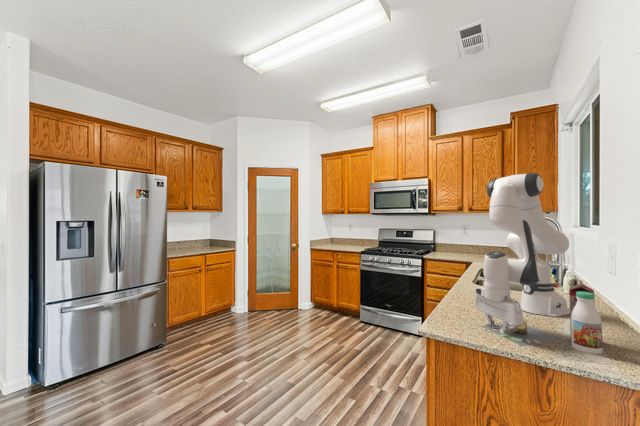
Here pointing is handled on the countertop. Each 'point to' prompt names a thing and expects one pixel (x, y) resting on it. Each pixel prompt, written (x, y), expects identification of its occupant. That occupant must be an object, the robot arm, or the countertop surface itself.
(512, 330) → the tuner knob with pointer
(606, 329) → the countertop surface
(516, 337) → the dial board
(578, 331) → the milk bottle
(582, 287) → the milk carton
